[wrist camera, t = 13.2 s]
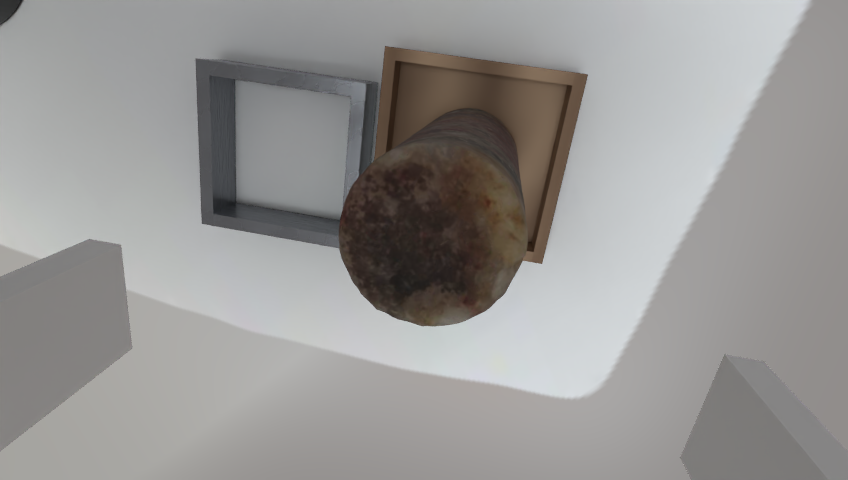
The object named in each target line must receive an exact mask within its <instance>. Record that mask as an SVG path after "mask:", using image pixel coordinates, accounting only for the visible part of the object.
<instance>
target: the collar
mask: <svg viewBox="0 0 848 480" xmlns="http://www.w3.org/2000/svg"><path fill="white" fill-rule="evenodd" d="M235 79H237V80H244V81H250V82H257V83H264V84H270V85H277V86H284V87H290V88H297V89H304V90H310V91H317V92H324V93H330V94H337V95H344V96H350V97H351V104H350V118H349V131H348V145H347V158H346V172H345V185H344V199H343V207H344V203H345V200H346V197H347V195H348V193H349V190H350V188H351V187H352V185H353V184H354V182H355V181H356V180H357V178H358V177H359V176H360V175H361V174H362V173H363V172H364V171H365V170H366V168H367V167H368V166H369V165H370V163H371V152H372V142H373V131H374V120H375V109H376V98H377V88H378V83H376V82H370V81H363V80H356V79H349V78H342V77H336V76H329V75H322V74H315V73H308V72H301V71H295V70H288V69H281V68H274V67H267V66H261V65H254V64H247V63H240V62H233V61H226V60H214V59H196V80H197V107H198V134H199V160H200V187H201V214H202V224H207V225H212V226H218V227H224V228H229V229H235V230H240V231H246V232H252V233H257V234H263V235H268V236H274V237H280V238H285V239H291V240H296V241H302V242H308V243H313V244H319V245H324V246H330V247H336V248H339V224H340V221H339V220H333V219H328V218H322V217H316V216H310V215H305V214H299V213H293V212H287V211H282V210H276V209H270V208H264V207H259V206H253V205H247V204H241V203H236V167H235Z"/></svg>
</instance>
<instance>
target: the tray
mask: <svg viewBox="0 0 848 480" xmlns="http://www.w3.org/2000/svg"><path fill="white" fill-rule="evenodd" d="M587 76H588V75H587V74H580V73H573V72H566V71H559V70H552V69H544V68H537V67H530V66H523V65H516V64H509V63H501V62H494V61H487V60H480V59H473V58H466V57H458V56H451V55H444V54H437V53H430V52H423V51H415V50H408V49H401V48H394V47H387V46H385V52H384V62H383V73H382V83H381V94H380V104H379V115H378V125H377V136H376V146H375V157H374V161H375V160H376V159H377V158H379V157H380V156H382V155H383V154H385V153H387V152H388V151H390V150H392V149H393V148H395V147H396V146H398V145H399V144H400V143H402V142H403V141H405V140H407V139H408V138H410V137H411V136H412V135H413V134H415V133H416V132H418V131H419V130H421V129H422V128H424V127H425V126H426V125H428V124H429V123H431V122H432V121H434V120H435V119H437V118H438V117H440V116H442V115H444V114H445V113H447V112H450V111H453V110H457V109H463V108H473V109H480V110H483V111H486V112H488V113H490V114H491V115H493V116H495V117H496V118H498V119H499V120H500V121H501V122H503V124H504V125H505V126H506V127H507V128H508V130H509V131H510V132H511V134H512V136H513V138H514V141H515V143H516V147H517V153H518V162H519V172H520V179H521V185H522V193H523V198H524V204H525V215H526V222H527V228H528V245H527V252H526V255H525V257H524V258H523V261H529V262H534V263H540V264H542V262H543V258H544V254H545V250H546V245H547V241H548V237H549V233H550V229H551V225H552V221H553V216H554V212H555V208H556V204H557V200H558V196H559V192H560V188H561V183H562V179H563V175H564V171H565V167H566V163H567V159H568V154H569V150H570V146H571V142H572V138H573V134H574V130H575V126H576V121H577V117H578V113H579V109H580V105H581V101H582V97H583V93H584V88H585V84H586V80H587Z"/></svg>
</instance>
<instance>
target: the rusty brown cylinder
mask: <svg viewBox="0 0 848 480" xmlns="http://www.w3.org/2000/svg"><path fill="white" fill-rule="evenodd" d="M527 245H528V228H527V222H526V215H525V204H524V198H523V193H522V185H521V179H520V172H519V162H518V153H517V147H516V143H515V141H514V138H513V136H512V134H511V132H510V131H509V130H508V128H507V127H506V126H505V125H504V124H503V122H501V121H500V120H499V119H498V118H496V117H495V116H493V115H491V114H490V113H488V112H486V111H483V110H480V109H473V108H463V109H457V110H453V111H450V112H447V113H445V114H444V115H442V116H440V117H438V118H437V119H435V120H434V121H432V122H431V123H429V124H428V125H426V126H425V127H424V128H422V129H421V130H419V131H418V132H416V133H415V134H413V135H412V136H411V137H410V138H408V139H407V140H405V141H403V142H402V143H400V144H399V145H398V146H396V147H395V148H393V149H392V150H390V151H388V152H387V153H385V154H383V155H382V156H380V157H379V158H377V159H376V160H375V161H374V162H372V163H371V164H370V165H369V166H368V167H367V168H366V170H365V171H364V172H363V173H362V174H361V175H360V176H359V177H358V178H357V180H356V181H355V182H354V184H353V185H352V187H351V188H350V190H349V193H348V195H347V197H346V200H345V203H344V207H343V211H342V215H341V218H340V224H339V248H340V253H341V257H342V260H343V262H344V264H345V266H346V268H347V270H348V273H349V275H350V277H351V279H352V281H353V283H354V284H355V285H356V286H357V288H358V289H359V291H360V293H361V294H362V295H363V296H364V297H365V298H366V299H367V300H368V301H369V302H370V303H371V304H372V305H373V306H374V307H375V308H376V309H377V310H380V311H383V312H385V313H387V314H389V315H391V316H392V317H394V318H397V319H400V320H404V321H408V322H411V323H414V324H417V325H420V326H444V325H451V324H456V323H460V322H463V321H466V320H468V319H470V318H472V317H474V316H476V315H478V314H480V313H482V312H484V311H486V310H487V309H489V308H490V307H491V306H492V305H493V304H494V303H495V302H496V301H497V300H498V299H499V298H501V297H502V296H503V295H504V293H505V292H506V290H507V288H508V286H509V285H510V283H511V281H512V279H513V277H514V276H515V274H516V272H517V271H518V269H519V267H520V265H521V263H522V261H523V258H524V257H525V255H526V252H527Z"/></svg>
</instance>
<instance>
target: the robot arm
mask: <svg viewBox="0 0 848 480" xmlns="http://www.w3.org/2000/svg"><path fill="white" fill-rule="evenodd" d="M20 1H21V0H0V24H1V23H3V22H4V21H5V20H6V19H8V18H9V17H10V16H11V15H12V13H13V12H14V11H15V9H16V8H17V6H18V5H19V3H20ZM131 349H132V342H131V333H130V323H129V315H128V305H127V296H126V286H125V277H124V268H123V259H122V250H121V245H119V244H114V243H108V242H103V241H97V240H92V239H88V240H86V241H84V242H81V243H79V244H77V245H74V246H72V247H69V248H67V249H65V250H62V251H60V252H58V253H55V254H53V255H51V256H48V257H46V258H43V259H41V260H39V261H36V262H34V263H32V264H30V265H27V266H25V267H22V268H20V269H17V270H15V271H13V272H10V273H8V274H6V275H3V276H1V277H0V451H1V450H2V449H4V448H5V447H6V446H8V445H9V444H10V443H11V442H13V441H14V440H15V439H17V438H18V437H19V436H20V435H21V434H23V433H24V432H26V431H27V430H28V429H29V428H30V427H32V426H33V425H35V424H36V423H37V422H38V421H40V420H41V419H42V418H43V417H45V416H46V415H47V414H49V413H50V412H51V411H52V410H54V409H55V408H56V407H58V406H59V405H60V404H61V403H63V402H64V401H65V400H67V399H68V398H69V397H70V396H72V395H73V394H74V393H75V392H77V391H78V390H79V389H81V388H82V387H83V386H84V385H86V384H87V383H88V382H90V381H91V380H92V379H94V378H95V377H96V376H97V375H99V374H100V373H101V372H102V371H104V370H105V369H106V368H108V367H109V366H110V365H112V364H113V363H114V362H115V361H117V360H118V359H119V358H120V357H122V356H123V355H124V354H126V353H127V352H128V351H129V350H131ZM680 458H681V460H682V462H683V464H684V466H685V468H686V470H687V472H688V474H689V476H690V478H691V480H848V450H847V449H846V448H845V447H844V446H843V445H842V444H841V443H840V442H839V441H838V440H837V439H836V438H835V437H834V436H833V435H832V433H831V432H830V431H829V430H828V429H827V428H826V427H825V426H824V425H823V424H822V423H821V422H820V421H819V420H818V419H817V417H816V416H815V415H814V414H813V413H812V412H811V411H810V410H809V409H808V408H807V407H806V406H805V405H804V404H803V403H802V402H801V400H800V399H799V398H798V397H797V396H796V395H795V394H794V393H793V392H792V391H791V390H790V389H789V388H788V387H787V386H786V385H785V383H784V382H782V380H781V379H780V378H779V377H778V376H777V375H776V374H775V373H774V372H773V371H772V370H771V369H770V367H769V366H767V364H766V363H765V362H764V361H759V360H753V359H748V358H742V357H737V356H731V355H726V354H725V355H724V357H723V359H722V361H721V364H720V366H719V368H718V371H717V373H716V375H715V378H714V380H713V382H712V385H711V387H710V389H709V392H708V394H707V397H706V399H705V401H704V403H703V406H702V408H701V411H700V413H699V415H698V417H697V420H696V422H695V424H694V427H693V429H692V431H691V434H690V436H689V438H688V441H687V443H686V445H685V448H684V450H683V452H682V455H681V457H680Z"/></svg>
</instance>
